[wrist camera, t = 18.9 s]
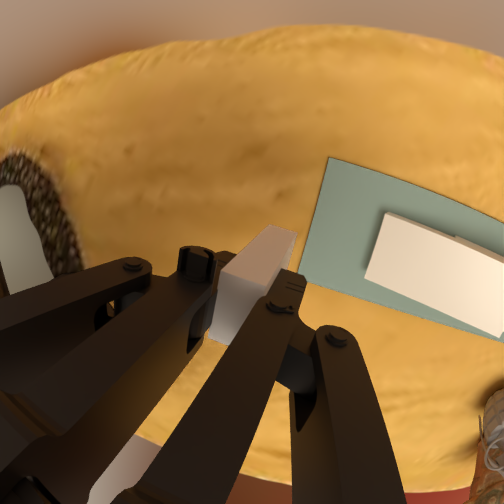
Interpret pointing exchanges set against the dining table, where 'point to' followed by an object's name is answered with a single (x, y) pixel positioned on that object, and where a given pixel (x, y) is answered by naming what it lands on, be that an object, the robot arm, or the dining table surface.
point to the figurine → (486, 479)
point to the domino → (439, 272)
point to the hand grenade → (494, 430)
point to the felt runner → (367, 230)
